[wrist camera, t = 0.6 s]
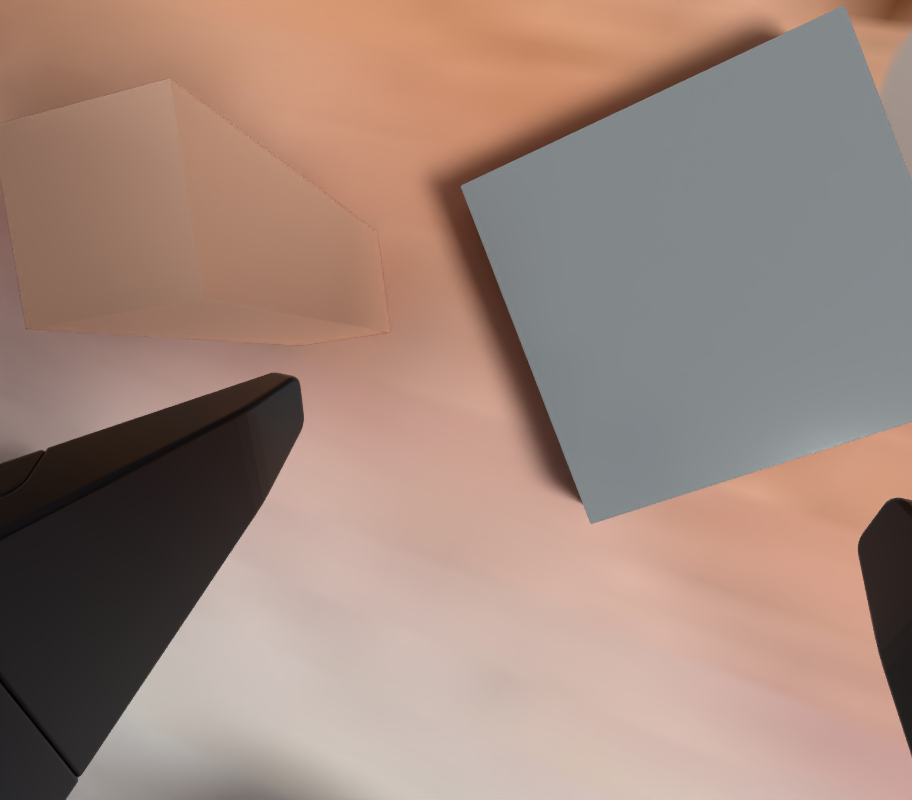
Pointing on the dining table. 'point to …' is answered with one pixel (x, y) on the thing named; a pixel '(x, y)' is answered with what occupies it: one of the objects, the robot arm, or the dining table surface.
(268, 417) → the robot arm
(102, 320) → the block
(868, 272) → the plate
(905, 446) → the dining table surface
